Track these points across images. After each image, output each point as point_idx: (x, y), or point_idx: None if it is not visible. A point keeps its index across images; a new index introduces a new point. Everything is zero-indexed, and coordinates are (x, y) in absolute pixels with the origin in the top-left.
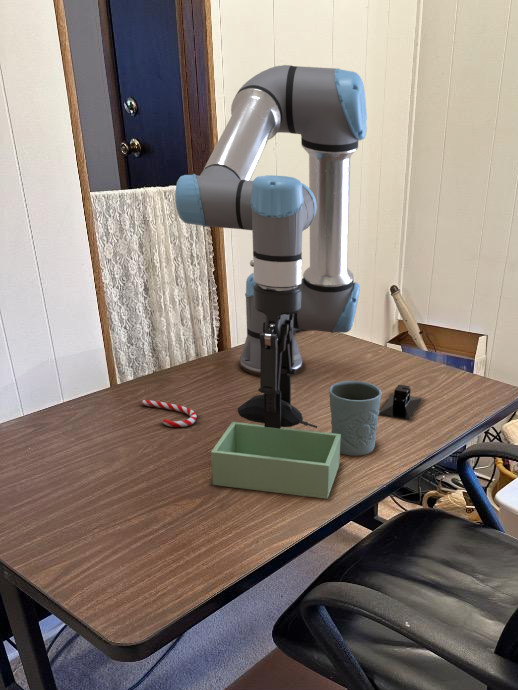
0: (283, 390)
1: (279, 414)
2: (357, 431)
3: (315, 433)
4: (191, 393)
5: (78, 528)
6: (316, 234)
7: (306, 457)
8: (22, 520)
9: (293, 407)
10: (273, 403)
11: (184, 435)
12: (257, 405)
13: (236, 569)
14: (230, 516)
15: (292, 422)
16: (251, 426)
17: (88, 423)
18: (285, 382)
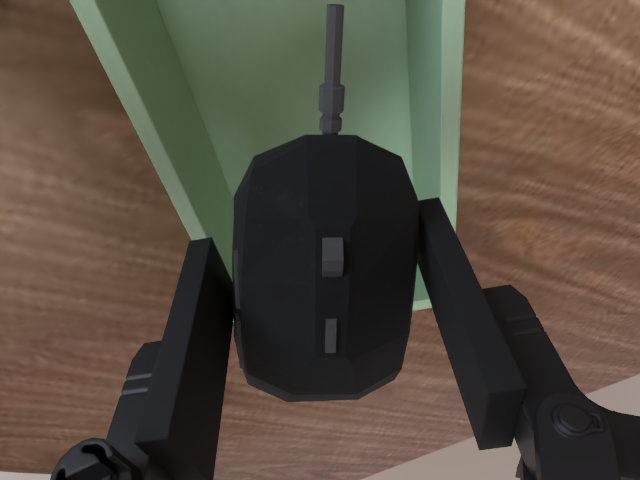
0: (204, 359)
1: (466, 256)
2: None
3: (125, 65)
4: (59, 420)
5: (620, 329)
6: None
7: (175, 62)
8: (593, 382)
9: (271, 235)
10: (544, 340)
11: (234, 359)
12: (397, 364)
13: None
14: (576, 129)
15: (401, 167)
16: None
17: (282, 451)
18: (192, 407)
